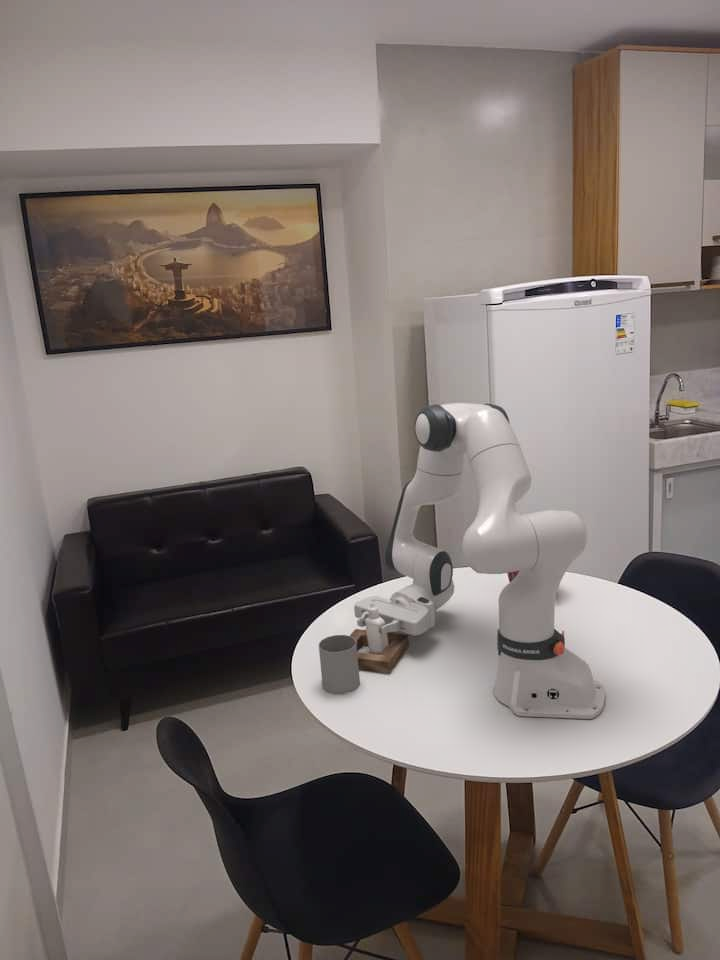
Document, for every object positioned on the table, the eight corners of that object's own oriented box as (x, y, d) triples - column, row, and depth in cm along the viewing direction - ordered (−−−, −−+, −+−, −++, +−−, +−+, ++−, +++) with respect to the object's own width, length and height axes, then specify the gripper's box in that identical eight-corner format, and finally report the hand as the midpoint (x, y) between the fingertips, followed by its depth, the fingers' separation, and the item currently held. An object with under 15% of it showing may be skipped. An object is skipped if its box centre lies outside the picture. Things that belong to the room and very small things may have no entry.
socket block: (409, 646, 178) (408, 634, 177) (389, 674, 165) (388, 662, 164) (356, 639, 183) (355, 628, 182) (333, 666, 170) (332, 654, 170)
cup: (361, 674, 166) (358, 634, 163) (358, 693, 158) (354, 651, 155) (325, 675, 167) (321, 635, 164) (319, 694, 159) (315, 652, 156)
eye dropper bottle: (372, 656, 171) (365, 607, 170) (368, 648, 177) (360, 601, 175) (390, 652, 172) (383, 604, 171) (385, 644, 178) (378, 597, 176)
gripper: (374, 586, 188) (337, 605, 178) (438, 603, 175) (402, 625, 165) (376, 608, 190) (339, 628, 180) (439, 627, 176) (404, 650, 166)
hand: (370, 627), depth 172 cm, fingers closed on eye dropper bottle, 5 cm apart
